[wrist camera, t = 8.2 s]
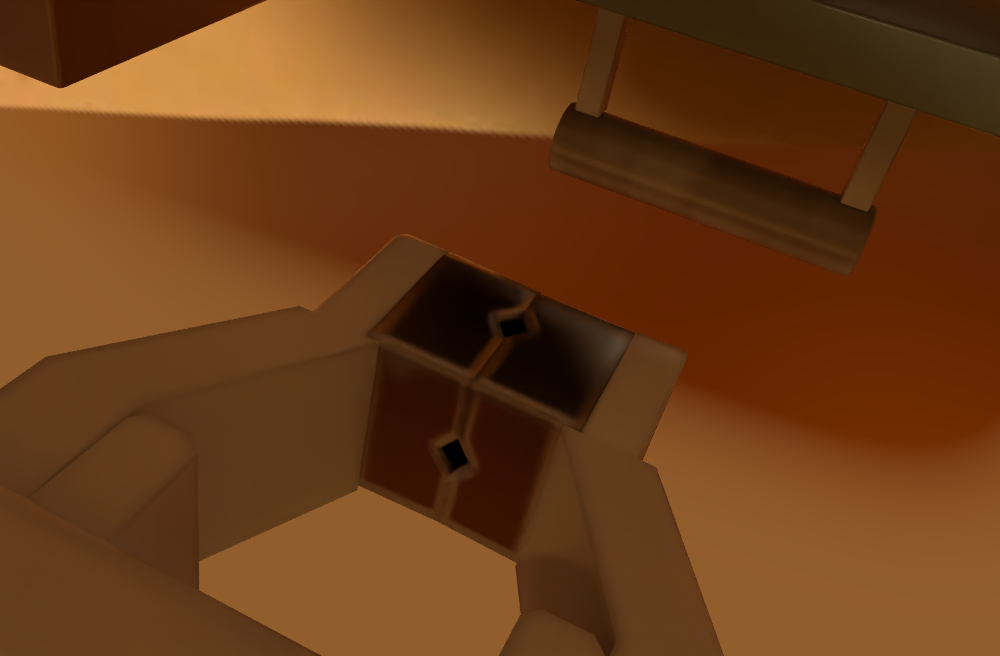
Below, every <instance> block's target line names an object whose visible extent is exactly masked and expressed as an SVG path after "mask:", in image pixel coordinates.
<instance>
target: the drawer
mask: <svg viewBox="0 0 1000 656" xmlns="http://www.w3.org/2000/svg"><path fill="white" fill-rule="evenodd" d="M577 1H580V2H583V3H586V4H589V5H592V6H595V7H599V11H598V16H597V20H596V24H595V28H594V32H593V36H592V40H591V44H590V48H589V52H588V56H587V60H586V64H585V69H584V73H583V77H582V81H581V85H580V89H579V93H578V97H577V101H576V102H572V103H571V104H570V105H569V106H568V107H567V109H566V110H565V112H564V114H563V115H562V117H561V119H560V122H559V124H558V126H557V129H556V132H555V134H554V137H553V141H552V145H551V149H550V154H549V166H550V168H551V169H553V170H556V171H559V172H561V173H564V174H566V175H569V176H572V177H575V178H577V179H580V180H583V181H586V182H588V183H591V184H594V185H597V186H600V187H602V188H605V189H608V190H610V191H613V192H616V193H618V194H621V195H624V196H627V197H629V198H632V199H635V200H638V201H640V202H643V203H646V204H648V205H651V206H654V207H657V208H659V209H662V210H665V211H668V212H671V213H673V214H676V215H679V216H681V217H684V218H687V219H689V220H692V221H695V222H698V223H700V224H703V225H706V226H709V227H711V228H714V229H717V230H720V231H723V232H725V233H728V234H730V235H733V236H736V237H739V238H742V239H744V240H747V241H750V242H753V243H755V244H758V245H761V246H763V247H766V248H769V249H772V250H775V251H777V252H780V253H782V254H785V255H788V256H791V257H793V258H796V259H799V260H802V261H804V262H807V263H810V264H812V265H815V266H818V267H821V268H823V269H826V270H829V271H832V272H835V273H837V274H840V275H843V276H848V275H849V274H850V273H851V271H852V270H853V268H854V267H855V265H856V263H857V261H858V259H859V257H860V255H861V253H862V251H863V249H864V246H865V244H866V242H867V240H868V237H869V235H870V233H871V230H872V227H873V224H874V222H875V218H876V215H877V207H876V206H873V205H871V204H872V202H873V200H874V198H875V196H876V194H877V192H878V190H879V188H880V186H881V184H882V182H883V180H884V178H885V176H886V174H887V172H888V170H889V168H890V166H891V164H892V162H893V160H894V158H895V156H896V154H897V152H898V150H899V148H900V146H901V144H902V142H903V140H904V138H905V136H906V134H907V132H908V130H909V128H910V126H911V124H912V122H913V120H914V118H915V116H916V114H917V112H918V111H921V112H924V113H927V114H930V115H933V116H936V117H939V118H943V119H946V120H949V121H952V122H955V123H958V124H961V125H964V126H967V127H970V128H974V129H977V130H980V131H983V132H986V133H989V134H992V135H995V136H998V137H1000V0H577ZM631 18H633V19H636V20H639V21H642V22H645V23H648V24H651V25H654V26H657V27H661V28H664V29H667V30H670V31H673V32H676V33H679V34H682V35H685V36H688V37H692V38H695V39H698V40H701V41H704V42H707V43H710V44H713V45H716V46H719V47H723V48H726V49H729V50H732V51H735V52H738V53H741V54H744V55H747V56H750V57H754V58H757V59H760V60H763V61H766V62H769V63H772V64H775V65H778V66H781V67H785V68H788V69H791V70H794V71H797V72H800V73H803V74H806V75H809V76H812V77H816V78H819V79H822V80H825V81H828V82H831V83H834V84H837V85H840V86H843V87H847V88H850V89H853V90H856V91H859V92H862V93H865V94H868V95H871V96H874V97H877V98H881V99H884V100H885V101H884V103H883V106H882V108H881V110H880V112H879V114H878V116H877V118H876V121H875V123H874V125H873V127H872V129H871V131H870V133H869V135H868V138H867V140H866V142H865V144H864V146H863V148H862V150H861V153H860V155H859V157H858V159H857V161H856V163H855V166H854V168H853V170H852V172H851V174H850V176H849V178H848V181H847V183H846V185H845V187H844V189H843V192H842V194H839V193H836V192H833V191H830V190H828V189H825V188H822V187H819V186H816V185H813V184H810V183H807V182H805V181H802V180H799V179H796V178H793V177H790V176H787V175H784V174H781V173H779V172H776V171H773V170H770V169H767V168H764V167H761V166H759V165H756V164H752V163H750V162H747V161H744V160H741V159H738V158H735V157H732V156H729V155H727V154H724V153H721V152H718V151H715V150H712V149H710V148H707V147H704V146H701V145H698V144H695V143H692V142H689V141H687V140H684V139H681V138H678V137H675V136H672V135H669V134H666V133H664V132H661V131H658V130H655V129H652V128H649V127H646V126H643V125H640V124H638V123H635V122H632V121H629V120H626V119H623V118H620V117H617V116H615V115H612V114H609V113H606V112H604V111H605V110H606V109H607V105H608V101H609V98H610V94H611V90H612V87H613V83H614V79H615V75H616V72H617V68H618V64H619V60H620V57H621V53H622V49H623V46H624V42H625V38H626V34H627V31H628V27H629V23H630V19H631Z"/></svg>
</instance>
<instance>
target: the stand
mask: <svg viewBox="0 0 1000 656" xmlns="http://www.w3.org/2000/svg"><path fill="white" fill-rule="evenodd" d="M264 1H266V0H0V65H1V66H3V67H6V68H8V69H11V70H14V71H16V72H19V73H21V74H24V75H26V76H29V77H31V78H34V79H36V80H39V81H42V82H44V83H47V84H49V85H52V86H54V87H57V88H64V87H66V86H69V85H71V84H73V83H76V82H78V81H80V80H83V79H85V78H87V77H90V76H92V75H94V74H97V73H99V72H101V71H104V70H106V69H108V68H111V67H113V66H115V65H117V64H120V63H122V62H124V61H127V60H129V59H131V58H134V57H136V56H138V55H141V54H143V53H145V52H148V51H150V50H152V49H155V48H157V47H159V46H162V45H164V44H166V43H169V42H171V41H173V40H175V39H178V38H180V37H182V36H185V35H187V34H189V33H192V32H194V31H196V30H199V29H201V28H203V27H206V26H208V25H210V24H213V23H215V22H217V21H220V20H222V19H224V18H226V17H229V16H231V15H233V14H236V13H238V12H240V11H243V10H245V9H247V8H250V7H252V6H254V5H257V4H259V3H261V2H264Z"/></svg>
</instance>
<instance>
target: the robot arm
mask: <svg viewBox="0 0 1000 656" xmlns="http://www.w3.org/2000/svg"><path fill="white" fill-rule="evenodd" d="M686 358H687V356H686V351H684V350H682V349H680V348H677V347H674V346H671V345H669V344H666V343H664V342H661V341H659V340H656V339H654V338H651V337H648V336H646V335H643V334H641V333H636V334H635V333H634V332H632V331H629V330H626V329H624V328H622V327H619V326H617V325H615V324H612V323H610V322H607V321H605V320H602V319H600V318H597V317H595V316H593V315H590V314H588V313H586V312H583V311H581V310H578V309H576V308H573V307H571V306H569V305H566V304H564V303H561V302H559V301H556V300H554V299H552V298H549V297H547V296H544V295H541V293H540V292H538V291H535V290H533V289H531V288H529V287H527V286H524V285H522V284H519V283H518V282H515V281H513V280H511V279H509V278H506V277H504V276H502V275H500V274H498V273H495V272H493V271H491V270H489V269H486V268H484V267H482V266H480V265H478V264H475V263H473V262H471V261H469V260H466V259H464V258H462V257H460V256H457V255H455V254H453V253H451V254H449V253H448V252H447V251H446V250H443V249H441V248H439V247H436V246H434V245H432V244H430V243H427V242H425V241H423V240H420V239H418V238H415V237H413V236H411V235H408V234H403V235H398V236H396V237H394V238H393V239H392V240H391V241H389V242H388V243H387V244H386V245H385V246H384V247H383V248H382V249H381V250H380V251H379V252H377V253H376V254H375V255H374V256H373V257H372V258H371V259H370V260H369V261H368V262H367V263H365V265H363V266H362V267H361V268H360V269H359V270H358V271H357V272H356V273H355V274H354V275H352V276H351V277H350V278H349V279H348V280H347V281H346V282H345V283H344V284H343V285H341V287H339V288H338V289H337V290H336V291H335V292H334V293H333V294H332V295H331V296H330V297H329V298H327V299H326V300H325V301H324V302H323V303H322V304H321V305H320V306H319V307H318V308H317V309H315V310H314V311H313V312H312V311H310V310H307V309H305V308H303V307H300V306H298V307H293V308H287V309H282V310H277V311H273V312H268V313H262V314H258V315H253V316H248V317H243V318H238V319H233V320H228V321H223V322H218V323H213V324H208V325H203V326H198V327H193V328H188V329H183V330H178V331H173V332H168V333H163V334H158V335H153V336H148V337H143V338H138V339H133V340H128V341H123V342H118V343H113V344H108V345H103V346H98V347H93V348H88V349H83V350H78V351H73V352H68V353H63V354H58V355H53V356H48V357H45V358H44V359H42V360H41V361H39V362H38V363H36V364H35V365H34V366H32V367H31V368H30V369H28V370H27V371H25V372H24V373H22V374H21V375H19V376H18V377H17V378H15V379H14V380H12V381H11V382H10V383H8V384H7V385H5V386H4V387H2V388H1V389H0V656H321V655H319V654H317V653H315V652H313V651H311V650H309V649H308V648H306V647H304V646H302V645H300V644H298V643H296V642H295V641H293V640H291V639H289V638H287V637H285V636H283V635H281V634H280V633H278V632H276V631H274V630H272V629H270V628H268V627H267V626H265V625H263V624H261V623H259V622H257V621H255V620H253V619H252V618H250V617H248V616H246V615H244V614H242V613H240V612H238V611H237V610H235V609H233V608H231V607H229V606H227V605H225V604H223V603H222V602H220V601H218V600H216V599H214V598H212V597H210V596H209V595H207V594H205V593H203V592H201V591H199V561H201V560H203V559H205V558H207V557H209V556H211V555H214V554H216V553H218V552H221V551H223V550H225V549H227V548H230V547H232V546H234V545H236V544H238V543H240V542H243V541H245V540H247V539H250V538H252V537H254V536H256V535H258V534H261V533H263V532H265V531H267V530H269V529H272V528H274V527H276V526H278V525H281V524H283V523H285V522H287V521H289V520H292V519H294V518H296V517H298V516H301V515H303V514H305V513H307V512H309V511H312V510H314V509H316V508H318V507H321V506H323V505H325V504H327V503H329V502H332V501H334V500H336V499H338V498H341V497H343V496H345V495H347V494H349V493H352V492H354V491H356V490H357V487H358V485H359V486H361V487H363V488H365V489H368V490H370V491H372V492H374V493H376V494H379V495H381V496H383V497H385V498H387V499H390V500H392V501H394V502H396V503H398V504H401V505H403V506H405V507H407V508H409V509H411V510H414V511H416V512H418V513H420V514H422V515H425V516H427V517H429V518H431V519H433V520H436V521H438V522H440V523H441V524H443V525H445V526H447V527H449V528H451V529H453V530H455V531H457V532H459V533H461V534H462V535H464V536H466V537H469V538H470V539H472V540H474V541H476V542H478V543H480V544H482V545H484V546H485V547H488V548H489V549H492V550H493V551H495V552H497V553H499V554H501V555H503V556H505V557H507V558H509V559H510V560H512V561H514V562H516V563H517V564H516V576H517V584H518V593H519V602H520V611H521V615H520V617H519V619H518V621H517V622H516V624H515V626H514V628H513V630H512V632H511V634H510V636H509V638H508V640H507V641H506V643H505V645H504V647H503V649H502V651H501V653H500V655H499V656H724V655H723V652H722V649H721V647H720V644H719V641H718V638H717V635H716V633H715V630H714V627H713V624H712V621H711V619H710V616H709V613H708V610H707V607H706V605H705V602H704V599H703V596H702V593H701V591H700V588H699V585H698V582H697V580H696V577H695V574H694V571H693V569H692V566H691V563H690V560H689V557H688V554H687V552H686V549H685V546H684V543H683V541H682V538H681V535H680V532H679V529H678V527H677V524H676V521H675V518H674V515H673V513H672V510H671V507H670V504H669V502H668V499H667V496H666V493H665V490H664V488H663V485H662V482H661V480H660V477H659V474H658V471H657V468H656V467H654V466H652V465H650V464H648V463H646V462H643V461H642V460H643V458H644V455H645V453H646V451H647V448H648V446H649V444H650V441H651V439H652V437H653V435H654V432H655V430H656V428H657V425H658V423H659V421H660V418H661V416H662V414H663V411H664V409H665V407H666V404H667V402H668V400H669V397H670V395H671V393H672V390H673V388H674V386H675V384H676V381H677V379H678V377H679V374H680V372H681V370H682V367H683V365H684V363H685V360H686Z"/></svg>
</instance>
